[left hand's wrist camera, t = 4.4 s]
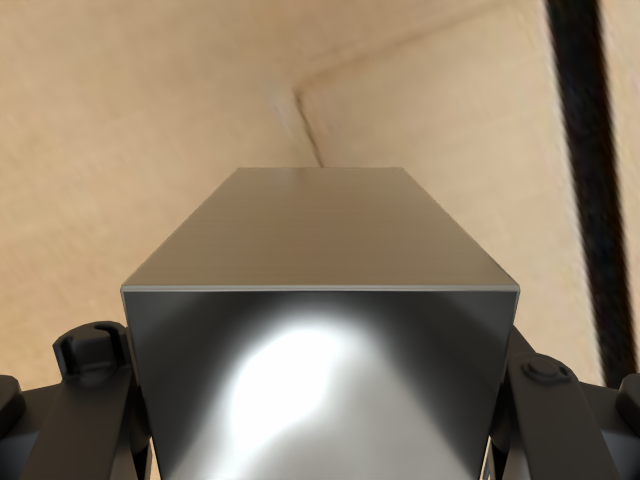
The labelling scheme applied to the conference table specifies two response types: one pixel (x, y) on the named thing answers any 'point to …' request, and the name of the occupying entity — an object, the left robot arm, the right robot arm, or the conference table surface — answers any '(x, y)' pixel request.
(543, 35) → the conference table surface
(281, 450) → the bar
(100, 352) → the left robot arm
